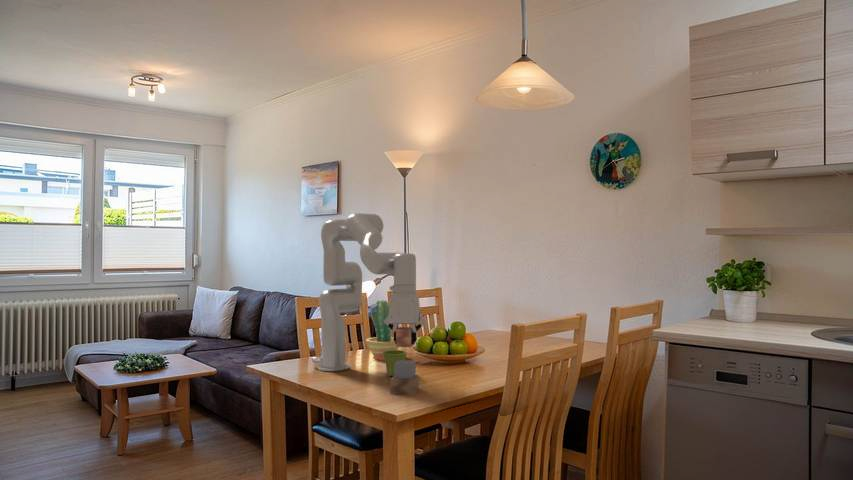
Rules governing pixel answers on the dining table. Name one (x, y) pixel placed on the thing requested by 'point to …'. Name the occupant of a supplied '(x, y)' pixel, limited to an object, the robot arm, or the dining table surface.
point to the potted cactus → (380, 330)
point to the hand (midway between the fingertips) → (405, 343)
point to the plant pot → (393, 359)
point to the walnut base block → (404, 385)
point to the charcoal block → (404, 369)
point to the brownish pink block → (403, 337)
